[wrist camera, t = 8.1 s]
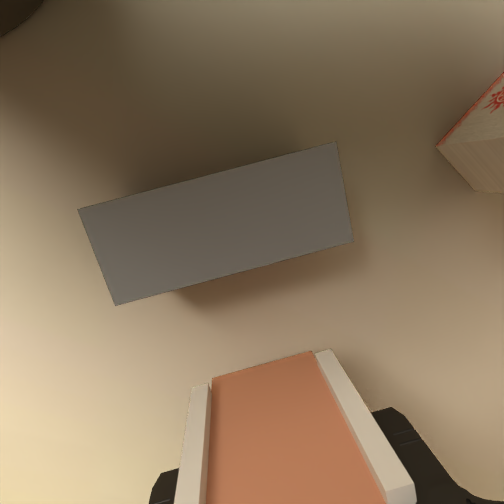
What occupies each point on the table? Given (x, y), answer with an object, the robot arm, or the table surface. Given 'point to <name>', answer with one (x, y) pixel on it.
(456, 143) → the beige boxy piece
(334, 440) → the terracotta tile
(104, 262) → the block
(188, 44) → the table surface
